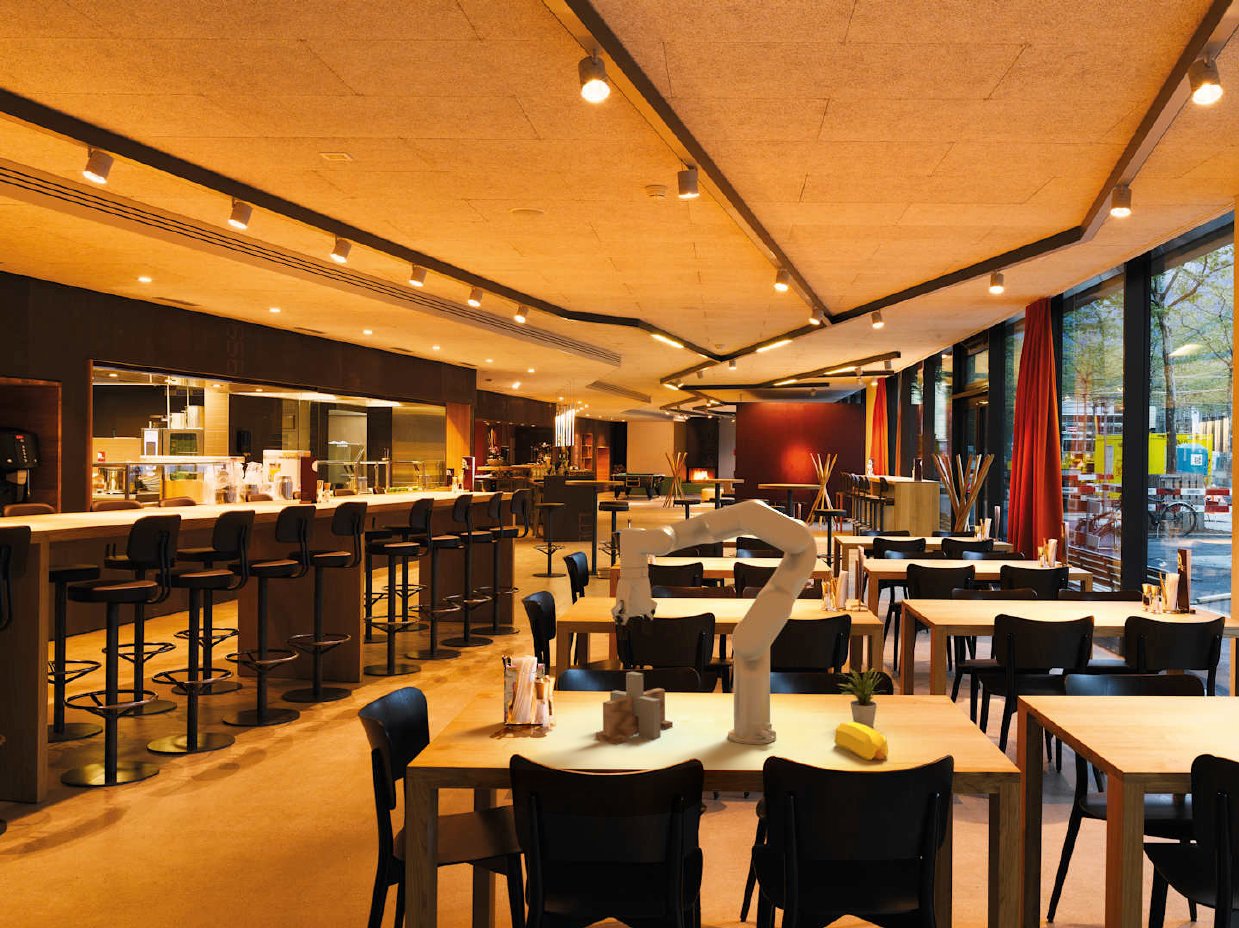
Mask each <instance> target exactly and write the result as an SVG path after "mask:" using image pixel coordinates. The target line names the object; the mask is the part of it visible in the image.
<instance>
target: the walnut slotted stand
mask: <svg viewBox="0 0 1239 928" xmlns="http://www.w3.org/2000/svg"><path fill="white" fill-rule="evenodd" d="M665 695H666V690H665V689H664V688H660V687H657V688H652V689H650V690H649V689H648V690H646V691H643V696H646V697H650V698H655V699H660V729H661V728H663V729H662V730H669V729H671V728H670V727H672V728H673V726H674V725H673V721H670V720H666V696H665ZM668 728H669V729H668ZM637 733H639V717H638V716H634V715H632V698H629V697H622V698H618V699H614V700H605V701H603V702H602V730H601V731H598V732H597V731H596V732H595V739H597V740H600V739H601V740H600V741H604V740H605V742H607V741H608V743H611V744H616V745H619V744H622V743H623V744H624V743H626V741H627V740H626V739H627V738H628V737H632V736H635V735H638V734H637ZM634 734H635V735H634Z"/></svg>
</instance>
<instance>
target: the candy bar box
mask: <svg viewBox="0 0 1239 928" xmlns="http://www.w3.org/2000/svg"><path fill="white" fill-rule="evenodd" d="M507 664H508V663H506V664H505V666H506V672H505V667H503V668H504V670H503V671H504V672H503V673H504V676H503V677H504V682H503V683H504V686H503V689H504V690H503V691H504V692H503V694H504V695H503V697H504V698H503V699H504V700H503V725H504V724H505V723H507V719H508V703H509V702H510V701H511V700H512V699H513V690H514V687H515V684H516V681H517V676H518V673H517V670H516V666H514V665H512V666H509V665H507ZM537 664H538V668H537V677H538V678H542V677H544V678H545V672H546V671H545V663H537ZM506 674H507V685H506Z"/></svg>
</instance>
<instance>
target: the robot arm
mask: <svg viewBox="0 0 1239 928" xmlns="http://www.w3.org/2000/svg"><path fill="white" fill-rule="evenodd" d="M749 534H750V535H751V536H754V537H755V538H757V539H759V540H761V541H763V542H765V543H767V544H769V545H771V546H773V547H775V548H776V549H779V550H780V551H782V552H784V554H783V557H782V559H781V561H780V562H779V564H778V566H777V567H776V569H775V571H774V573H773V574H772V576H771V577H770V578H769V579H768V580H767V583H766V584H765V586H764V587H762V589H761V590H760V591H759V592H758V594H757V595H756V598H755V599H754V601H753V603H752V604H751V606H750V608H749V609H748V611H746V614H745V615H744V616H743V618H742V619H741V620H739V622H737V624H736V626H735V627H734V629H733V632H732V635H731V639H730V640H731V643H730V644H731V648H732V650H733V729H730V730H729V731H728V733H727V737H728V739H729V740H731V741H733V742H736V743H741V744H745V745H746V744H747V745H763V744H770V743H773V742H775V740H777V732H776V731H775V730H772V728H773V726H772V723H771V646H772V644H773V643H774V642H775V640H776V638H778V636H779V634H780V633H781V632H782V629H783V628H784V627H785V626H786V624H787V622H788V621H789V618H791V617H790V616H791V615H792V612H793V606H794V604H795V603H796V601H797V599H798V597H799V596H800V594H801V593H802V591H803V589H804V588H805V586H806V584H807V583H808V582H809V579H810V578H811V577H812V574H813V572H814V570H815V568H816V563H817V558H818V546H817V543H816V539H815V536H814V535H813V532H812V531H811V529H810V527H809V526H808V524H807V523H806V522H804V521H802V520H801V519H797V518H792V517H789V516H788V515H786V514H783V513H782V512H779V511H778V510H776V509H774V508H772V507H770V506H769V505H767V503H766V502H764V501H762V500H760V499H757V498H755V499H749V500H746V501H742V502H739V503H738V502H737V503H735V504H732V505H727V506H724V507H721V508H717V509H713V510H710V511H706V512H703V513H700V514H698V515H696V516H693V517H690V518H686V519H683V520H679V521H677V522H673V523H672V522H671V523H669V524H665V525H661V526H658V527H655V528H649V529H645V528H643V527H624V528H622V529H621V530H620V533H619V567H620V568H619V569H620V572H619V573H620V575H619V576H620V578H619V579H618V580H617V586H616V594H615V595H616V596H615V605H614V606H613V607H612V608H611V609H610V612H611V615H612V619H613V620H614V621H615V625H616V627H617V639H618V640H623V641H626V640H628V639H629V637H628V636H629V633H628V632H629V631H628V627H629V626H628V624H627V623H628V621H629V618H632V617H638V616H641V617H642V619H641V634H642V635H646V636H653V635H652V634H653V622H652V621H653V620H654V616H655V614H656V610H657V605H658V602H656V601H655V600H653V599H652V591H651V590H652V589H651V584H650V578H649V559H648V558H649V555H650V556H656V557H657V556H658V557H661V556H666V555H669V553H671V552H675V551H678V550H682V549H684V548H689V547H693V546H697V545H701V544H704V545H705V544H715V543H720V542H722V541H723V542H724V541H727V540H730V539H734V538H738V537H742V536H746V535H749Z"/></svg>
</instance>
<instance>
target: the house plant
mask: <svg viewBox="0 0 1239 928" xmlns="http://www.w3.org/2000/svg"><path fill="white" fill-rule="evenodd" d="M847 669H848V670H850V672H851V674H852V675H853V676H852V677H850V676H847V675H845V674H843V673H840V672H838V673H837V674H838V675H840V677H842V678H843V677H844V678H845V679H847V680H848V681H849V682H850V683H849V682H848V683H847V684H844V683H836V685H838V686H841V687H844V688H841V687H840V689H842V690H845V691H843V692H841V695H842V697H844V696H846V695H849V694H850V695H852V697H853V698H855V699H856V700H852V701H850V708H851V713H852V720H853V721H852V722H856V723H859V724H862V725H866V726H868V727H870V728H871V729H873V727H874V723H875V717H876V711H877V706H878V703H877V702H875V701H874V700H873V699H874V697H875V696H874V695H875V694H877V693H879V692H886V690H884V689H882V690H877V691H874V688H875V687H876V686H877V685H878V684H879V682H880V681H881V680H882V678H880V679H878V678H879V677H880V674H878V675H877V670H876V672H875V673H874V670H875V669H876V668H875V667H873V668H871V669H870V670H869V671H868V672H867V670H868V669H867V667H865V669H864V673H863V676H862V679H861V677H860V675H859V674H858V673H857V671H855V670H854V669H853V670H852V669H851V668H849V667H847ZM873 673H874V674H873ZM872 674H873V677H872ZM841 675H842V676H841ZM876 676H877V677H876ZM847 677H848V678H847ZM871 678H872V679H871ZM851 681H852V682H851ZM847 689H849V690H851V691H847ZM852 691H853V692H852Z"/></svg>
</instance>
